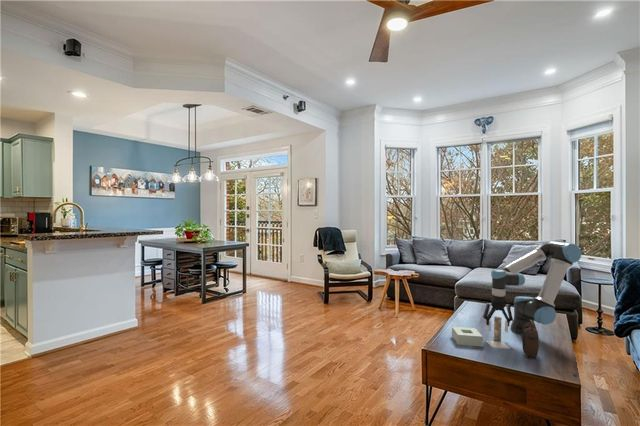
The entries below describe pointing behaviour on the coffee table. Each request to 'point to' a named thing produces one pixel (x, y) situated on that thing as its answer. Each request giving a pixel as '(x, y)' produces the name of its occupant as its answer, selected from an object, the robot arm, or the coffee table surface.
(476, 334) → the socket block
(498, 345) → the coaster
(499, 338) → the peg
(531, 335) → the alarm clock
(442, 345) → the coffee table surface
